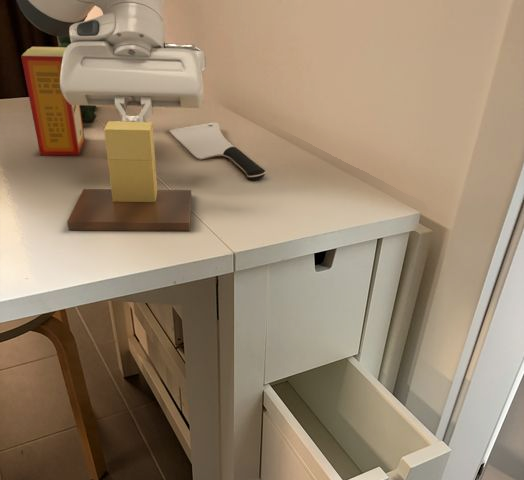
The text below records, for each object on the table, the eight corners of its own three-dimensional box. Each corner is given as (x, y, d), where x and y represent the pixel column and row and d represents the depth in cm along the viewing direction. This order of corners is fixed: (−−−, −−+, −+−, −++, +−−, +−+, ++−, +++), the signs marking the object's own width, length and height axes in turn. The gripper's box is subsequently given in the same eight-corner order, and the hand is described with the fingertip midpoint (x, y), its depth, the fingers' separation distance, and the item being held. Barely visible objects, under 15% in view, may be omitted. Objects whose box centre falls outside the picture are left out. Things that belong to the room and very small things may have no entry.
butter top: (107, 159, 75) (103, 129, 73) (111, 150, 79) (108, 121, 76) (152, 160, 76) (149, 130, 73) (154, 151, 79) (152, 122, 77)
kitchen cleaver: (168, 126, 112) (215, 117, 114) (170, 135, 113) (216, 126, 115) (216, 179, 89) (273, 166, 91) (217, 189, 90) (274, 176, 92)
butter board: (68, 230, 74) (66, 221, 73) (84, 196, 83) (83, 188, 82) (189, 230, 75) (189, 222, 74) (191, 197, 85) (191, 190, 84)
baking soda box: (49, 139, 105) (31, 44, 95) (84, 139, 106) (70, 45, 96) (40, 155, 97) (20, 53, 88) (78, 155, 98) (63, 54, 89)
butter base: (112, 201, 79) (107, 159, 75) (116, 191, 82) (111, 150, 79) (155, 202, 79) (152, 160, 76) (157, 192, 83) (154, 151, 79)
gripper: (205, 59, 85) (206, 143, 83) (69, 55, 83) (67, 140, 81) (204, 30, 79) (205, 120, 77) (57, 24, 77) (55, 116, 75)
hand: (133, 130), depth 79 cm, fingers closed
